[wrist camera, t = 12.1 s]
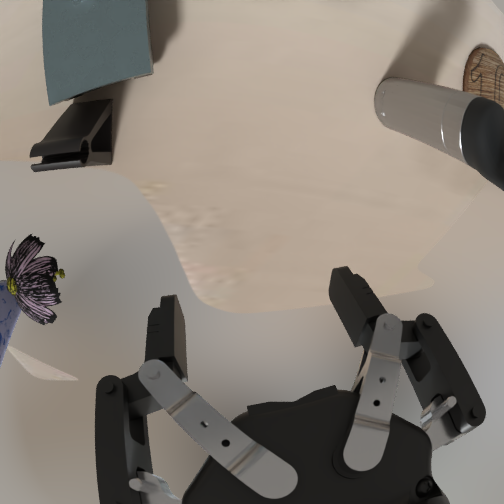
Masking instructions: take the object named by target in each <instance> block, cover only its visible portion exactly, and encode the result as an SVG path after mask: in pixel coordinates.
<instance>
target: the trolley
mask: <svg viewBox="0 0 504 504" xmlns="http://www.w3.org/2000/svg"><path fill="white" fill-rule="evenodd" d="M42 35H43V56H44V69H45V78H46V86H47V93H48V100H49V106H51V105H55V104H58V103H61V102H63V101H68V100H71V99H73V98H76V97H78V96H81V95H83V94H84V93H86V92H89V91H92V90H95V89H98V88H101V87H104V86H107V85H110V84H113V83H117V82H120V81H124V80H127V79H131V78H134V79H136V78H140V77H144V76H148V75H152V74H153V73H154V72H153V54H152V46H151V40H150V29H149V14H148V0H43V16H42Z"/></svg>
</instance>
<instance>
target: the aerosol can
mask: <svg viewBox="0 0 504 504" xmlns="http://www.w3.org/2000/svg"><path fill="white" fill-rule="evenodd" d="M6 284H7V280H1V281H0V367H1V364H2V361H3V358H4V354H5V351H6V349H7V346H8V342H9V340H10V337H11V334H12V332H13V330H14V327H15V324H16V322H17V320H18V317H19V315H20V312H21V310H22V309H21V308H20V307H19V305H18V303H17V302H16V300H15V297H14V295H12V294H11V293H10V292H9V291H8V290H7V285H6Z"/></svg>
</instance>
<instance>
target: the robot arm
mask: <svg viewBox="0 0 504 504" xmlns="http://www.w3.org/2000/svg"><path fill="white" fill-rule="evenodd" d="M375 110H376V113H377V116H378V118H379V120H380V121H381V122H382V124H383V125H384V126H386V127H387V128H389V129H392V130H395V131H397V132H400V133H402V134H404V135H407V136H409V137H411V138H414V139H416V140H418V141H421V142H423V143H425V144H427V145H429V146H432V147H434V148H436V149H438V150H440V151H442V152H444V153H446V154H448V155H450V156H452V157H454V158H456V159H458V160H460V161H462V162H463V163H465V164H467V165H469V166H471V167H472V168H474V169H476V170H477V171H478V172H479V173H480V174H481V175H482V176H483V177H485V178H486V179H487V180H489V181H490V182H492V183H493V184H495V185H496V186H498V187H499V188H501V189H502V190H503V191H504V109H503V107H502V106H501V105H500V104H498V103H497V102H495V101H493V100H490V99H487V98H484V97H481V96H478V95H475V94H471V93H468V92H464V91H460V90H457V89H453V88H449V87H444V86H440V85H436V84H431V83H426V82H421V81H415V80H410V79H403V78H397V77H391V78H388V79H386V80H384V81H383V82H382V83H381V84H380V85H379V87H378V89H377V91H376V94H375ZM329 297H330V300H331V302H332V304H333V306H334V308H335V310H336V312H337V313H338V315H339V317H340V319H341V321H342V323H343V325H344V327H345V329H346V330H347V333H348V335H349V337H350V339H351V340H352V342H353V344H354V346H355V347H358V346H361V345H362V346H363V348H364V350H363V353H362V357H361V361H360V364H359V368H358V371H357V375H356V378H355V381H354V384H353V386H352V388H351V391H347V390H337V388H336V386H335V385H333V386H330V387H326V388H323V389H320V390H316V391H313V392H312V393H310V394H308V395H306V396H304V397H302V398H300V399H299V400H297V401H294V402H266V403H261V404H256V405H250V406H247V409H248V411H247V412H245V413H242V414H241V415H239V416H237V417H236V418H235V419H233V420H232V421H231V422H229V421H228V420H227V419H226V418H225V417H224V416H222V415H221V414H220V413H219V412H218V411H217V410H215V409H214V408H213V407H212V406H211V405H210V404H209V403H208V402H206V401H205V400H204V399H203V398H202V397H201V396H200V395H199V394H197V393H196V392H193V391H192V390H191V389H190V388H189V387H188V386H186V385H185V383H183V382H186V381H188V376H187V358H186V335H185V320H184V316H183V313H182V310H181V307H180V304H179V301H178V298H177V295H168V296H162V297H161V303H160V307H158V308H153V309H152V311H151V313H150V315H149V316H148V327H147V338H146V351H145V362H144V364H142V366H141V367H140V369H139V371H138V372H136V373H135V374H133V375H130V376H128V377H125V378H122V379H120V378H118V377H117V376H113V375H108V376H105V377H103V378H102V379H101V380H100V381H99V383H98V384H97V388H96V406H95V407H96V408H95V450H96V451H95V453H96V470H97V482H98V491H99V500H100V504H450V503H449V500H448V498H447V497H446V495H445V494H444V493H443V492H442V490H441V489H440V488H439V487H438V485H437V484H436V482H435V481H434V479H433V477H432V471H431V458H432V451H434V450H435V449H437V448H439V447H440V446H442V445H448V444H449V443H451V442H453V441H454V440H457V439H458V438H460V437H462V436H463V435H465V434H467V433H468V432H470V431H471V430H473V429H474V428H476V427H477V426H479V425H480V424H482V423H483V421H484V419H485V415H486V410H485V406H484V404H483V402H482V400H481V398H480V396H479V394H478V392H477V390H476V388H475V386H474V384H473V382H472V380H471V378H470V376H469V374H468V372H467V370H466V368H465V367H464V365H463V363H462V361H461V359H460V358H459V356H458V354H457V352H456V351H455V349H454V347H453V346H452V344H451V342H450V341H449V339H448V337H447V336H446V334H445V333H444V331H443V329H442V328H441V326H440V324H439V323H438V321H437V320H436V319H435V317H433V316H432V315H430V314H427V313H423V314H420V315H418V317H417V318H416V320H415V321H401V320H400V319H399V318H398V317H397V316H395V315H393V314H389V313H387V311H386V310H385V309H384V307H383V306H382V304H381V302H380V301H379V299H378V298H377V297H376V295H375V294H374V293H373V291H372V289H371V288H370V287H369V285H368V283H367V282H366V281H365V279H364V278H362V277H361V276H359V275H358V274H354V275H353V273H352V272H351V270H350V269H349V267H347V266H344V267H339V268H334V269H333V270H332V274H331V280H330V286H329ZM401 363H402V365H403V367H404V369H405V370H406V373H407V375H408V377H409V379H410V381H411V384H412V386H413V388H414V390H415V392H416V395H417V397H418V399H419V402H420V404H421V406H422V408H423V411H422V413H421V421H420V424H421V426H422V429H421V428H420V427H418V426H416V425H414V424H412V423H410V422H408V421H406V420H404V419H403V418H401V417H399V416H397V415H395V414H393V413H392V410H393V406H394V401H395V397H396V392H397V387H398V381H399V375H400V369H401ZM163 408H164V410H166V412H167V413H168V414H169V415H170V416H171V417H172V418H173V419H174V420H175V421H176V423H178V425H179V426H180V427H181V428H183V430H184V431H185V432H186V433H187V434H188V435H189V436H190V437H191V438H192V439H193V440H194V441H196V442H197V443H198V444H199V445H200V446H201V447H202V448H203V449H204V450H205V451H206V452H207V453H208V454H210V455H209V456H208V458H207V459H206V461H205V463H204V464H203V466H202V467H201V469H200V470H199V472H198V473H197V475H196V477H195V478H194V479H193V481H192V482H191V484H190V485H189V487H188V489H187V490H186V491H185V493H184V495H183V498H182V499H179V498H177V497H176V496H174V495H173V494H172V492H171V491H170V489H169V486H168V484H167V482H166V481H165V480H164V479H163V478H161V477H159V476H156V475H154V474H153V469H152V462H151V455H150V446H149V437H148V427H147V414H150V413H153V412H155V411H158V410H160V409H163Z"/></svg>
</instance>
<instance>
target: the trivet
mask: <svg viewBox="0 0 504 504" xmlns="http://www.w3.org/2000/svg"><path fill="white" fill-rule="evenodd" d="M463 91H464V92H468V93H471V94H475V95H478V96H481V97H484V98H487V99H490V100H493V101H495V102H497V103H498V104H500V105H501V106H502V107H503V109H504V63H503V62H502V60H501V59H500V57H499V56H498V55H497V54H496V53H495V52H494V51H492V50H491V49H486V48H480V47H479V48H477V49H475V50H473V51H472V53H471V54H470V55H469V57H468V60H467V62H466V65H465V70H464V76H463Z"/></svg>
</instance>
